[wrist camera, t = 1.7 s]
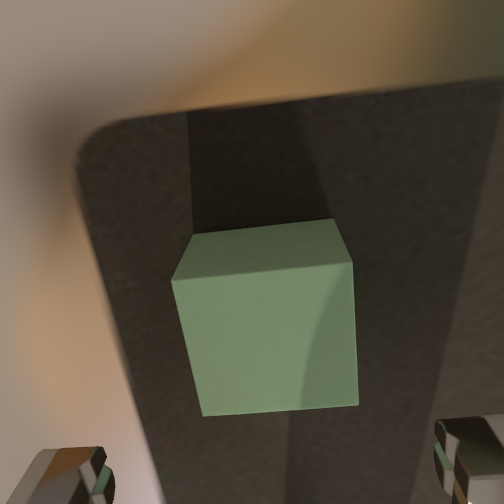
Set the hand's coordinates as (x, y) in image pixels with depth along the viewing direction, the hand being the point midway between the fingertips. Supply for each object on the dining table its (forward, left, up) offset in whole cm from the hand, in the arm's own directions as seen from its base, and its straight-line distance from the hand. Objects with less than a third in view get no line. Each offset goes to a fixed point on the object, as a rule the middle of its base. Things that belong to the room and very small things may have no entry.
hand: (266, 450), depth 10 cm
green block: (0, 0, -8) cm, 8 cm away
